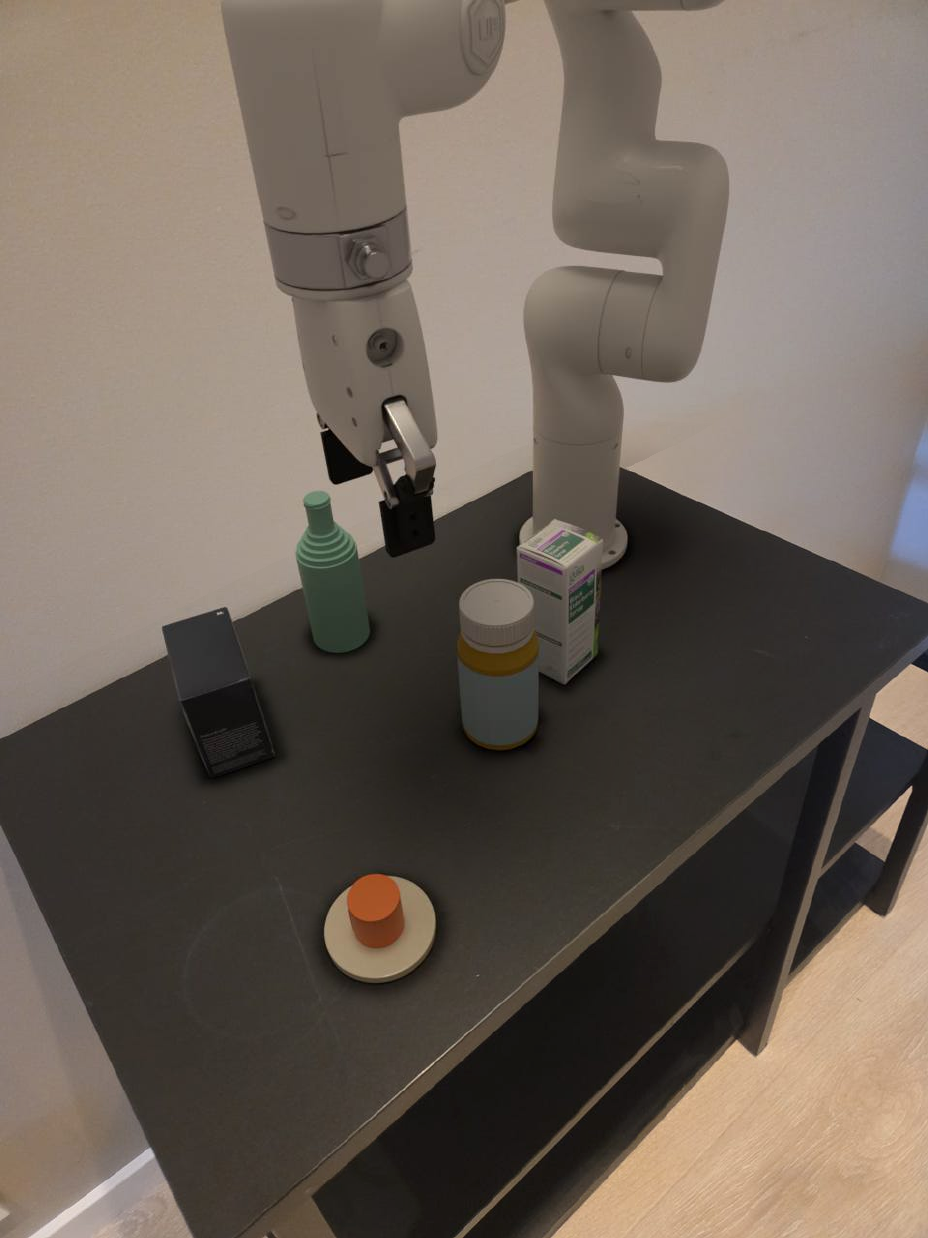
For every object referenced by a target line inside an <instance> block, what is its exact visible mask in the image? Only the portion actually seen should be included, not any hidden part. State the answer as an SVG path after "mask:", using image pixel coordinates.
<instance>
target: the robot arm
mask: <svg viewBox="0 0 928 1238" xmlns="http://www.w3.org/2000/svg"><path fill="white" fill-rule="evenodd" d="M518 1H519V0H220V12H221V17H222V23H223V30H224V35H225V40H226V46H227V51H228V55H229V60H230V65H231V69H232V75H233V79H234V80H233V81H234V84H235V89H236V93H237V100H238V103H239V109H240V113H241V118H242V124H243V128H244V133H245V137H246V138H245V139H246V145H247V148H248V153H249V157H250V158H249V159H250V163H251V167H252V172H253V177H254V182H255V186H256V191H257V194H258V196H257V197H258V200H259V206H260V210H261V215H262V219H263V220H262V223H263V227H264V233H265V237H266V241H267V246H268V251H269V252H268V253H269V256H270V260H271V266H272V272H273V276H274V280H275V281H274V282H275V285H276V287H277V289H278V290H279V291H280V292H282V293H284V294H285V295H287V296H290V297H291V302H292V307H293V308H292V309H293V315H294V322H295V328H296V336H297V341H298V347H299V352H300V354H299V355H300V358H301V359H300V360H301V364H302V370H303V373H304V378H305V383H306V387H307V390H308V394H309V398H310V401H311V403H312V405H313V408H314V410H315V411H316V415H315V416H316V420H317V423H318V426H319V428H320V429H321V430H322V431H320V432H319V433H320V440H321V444H322V449H323V454H324V455H323V456H324V459H325V465H326V471H327V475H328V479H329V481H330V483H331V484H333V486H334V485H335V486H338V485H341V484H344V483H347V482H351V481H353V480H356V479H359V478H362V477H365V476H368V475H371V474H373V473H374V475H375V478H376V481H377V483H378V486H379V489H380V492H381V494H382V497H383V500H380V501H378V507H379V514H380V520H381V521H380V522H381V527H382V534H383V540H384V546H385V548H384V549H385V552H386V553H387V555H388V556H389V557H390V558H393V559H394V558H395V559H396V558H397V557H400V556H404V555H406V554H408V553H412V552H414V551H416V550H421V549H422V548H426V547H428V546H430V545H432V544H434V543H435V541H436V532H435V531H436V530H435V521H434V520H435V519H434V511H433V503H432V496H433V495H434V489H435V482H436V477H435V476H434V475H435V471H436V467H437V460H436V456H435V454H434V452H433V451H432V449H435V448H436V445H437V443H438V438H439V437H438V426H437V417H436V409H435V403H434V396H433V389H432V381H431V374H430V368H429V361H428V355H427V349H426V343H425V338H424V334H423V333H424V332H423V328H422V324H421V319H420V315H419V311H418V307H417V303H416V299H415V295H414V292H413V288H412V285H411V282H409V280H408V279H409V277H411V276H412V273H413V270H414V267H413V258H412V257H413V255H412V245H411V244H412V243H411V236H410V225H409V215H408V204H407V197H406V185H405V176H404V167H403V166H404V165H403V155H402V145H401V136H400V122H401V120H402V119H404V118H407V117H412V116H418V115H425V114H431V113H437V112H438V113H439V112H445V111H448V110H452V109H454V108H457V107H459V106H462V105H463V104H466V103H467V102H468V101H470V100H471V99H472V98H474V97H475V96H476V95H478V93H480V92H481V90H483V88H484V87H485V86H486V85H487V83H488V82H489V81H490V79H491V77H492V76H493V74H494V72H495V70H496V69H497V66H498V63H499V61H500V58H501V55H502V51H503V48H504V42H505V37H506V27H507V26H506V24H507V23H506V22H507V19H506V17H507V16H506V5H509V4H512V3H515V2H518ZM725 1H726V0H543V2H544V5H545V8H546V11H547V13H548V17H549V20H550V22H551V25H552V29H553V31H554V34H555V38H556V41H557V44H558V48H559V52H560V57H561V61H562V71H563V94H562V106H561V114H560V123H559V132H558V142H557V151H556V159H555V160H556V161H555V169H554V178H553V186H552V187H553V189H552V202H551V205H552V206H551V219H552V220H551V221H552V226H553V227H552V228H553V232H554V233H555V235H556V237H557V239H558V240H559V241H561V242H562V244H564V245H567V246H568V247H571V248H575V249H579V250H584V251H590V252H597V253H605V254H613V255H614V254H615V255H622V256H632V257H643V258H651V259H656V260H657V261H659V262H660V264H661V268H662V274H655V273H654V274H653V273H645V272H636V271H626V270H624V269H617V268H616V269H614V268H608V267H607V268H606V267H597V266H588V265H587V266H586V265H563V266H558V267H554V268H551V269H547V270H546V271H544V272H542V273H541V274H540V275H539V276H537V277H536V279H534V280H533V282H532V283H531V285H530V287H529V289H528V290H527V292H526V295H525V298H524V302H523V303H524V304H523V315H522V317H523V318H522V323H523V332H524V338H525V344H526V348H527V354H528V358H529V359H528V360H529V365H530V374H531V383H532V384H531V385H532V516H531V517H530V518H528V519H527V520H526V521H525V522H524V523H523V524H522V526H521V528H520V531H519V535H518V536H519V537H518V539H519V545H521V544H522V543H523V542H525V541H526V540H527V539H529V538H530V537H531V536H532V535H534V534H535V533H537V532H538V531H540V530H541V529H543V528H544V527H546V526H547V525H548V524H550V522H551V521H553V520H554V519H556V520H559V521H562V522H565V523H568V524H571V525H574V526H577V527H579V528H581V529H584V530H586V531H588V532H590V533H592V534H594V535H596V536H598V537H600V538H602V540H603V549H602V570H605V569H608V568H610V567H611V566H613V565H615V564H616V563H617V562H619V560H620V559H622V558H623V556H624V555H625V553H626V551H627V548H628V538H629V537H628V533H627V530H626V528H625V526H624V525H623V524H622V523H621V521H620V520H618V519H617V505H618V496H619V495H618V493H619V482H620V468H621V454H622V443H623V431H624V430H623V429H624V417H625V409H624V400H623V397H622V394H621V390H620V388H619V386H618V383H617V381H616V380H615V377H622V378H628V379H633V380H640V381H646V382H647V381H648V382H653V383H654V382H655V383H667V384H669V383H677V382H679V381H683V380H684V379H685V378H687V377H688V376H689V375H690V374H691V373H692V372H693V370H694V368H695V367H696V365H697V363H698V361H699V357H700V355H701V353H702V350H703V349H702V348H703V345H704V340H705V335H706V331H707V326H708V322H709V321H708V320H709V315H710V309H711V304H712V298H713V295H714V288H715V282H716V276H717V271H718V267H719V266H718V265H719V261H720V256H721V250H722V245H723V239H724V235H725V234H724V233H725V228H726V223H727V217H728V216H727V215H728V209H729V201H730V199H729V198H730V176H729V168H728V164H727V162H726V159H725V158H724V156H723V154H722V153H721V152H720V151H718V149H716V148H714V147H713V146H710V145H709V144H705V143H700V142H692V141H680V140H659V139H657V138H656V137H657V136H656V125H657V119H658V111H659V105H660V96H661V91H662V84H663V76H662V74H663V73H662V69H661V65H660V61H659V58H658V56H657V53H656V51H655V49H654V46H653V45H652V42H651V40H650V38H649V37H648V35H647V33H646V31H645V29H644V28H643V26H642V24H641V23H640V22H639V20H638V18H637V17H636V15H635V14H634V12H638V11H639V12H649V11H650V12H653V11H654V12H657V11H658V12H662V11H663V12H665V11H666V12H667V11H668V12H670V11H671V12H675V11H677V12H680V11H681V12H683V11H684V12H685V11H686V12H695V11H696V12H697V11H704V10H709V9H712V8H716V7H718V6H719V5H721V4H723V3H724V2H725ZM633 11H634V12H633ZM614 376H615V377H614ZM323 430H324V431H323ZM391 441H394V443H395V445H396V447H395V448H392V449H389V450H386V451H385V450H384V451H382V452H380V451H381V448H382V445H383V444H384V443H387V442H391ZM401 460H403V463H404V467H403V470H404V472H405V474H404V475H401V476H399V477H398V479H397V480H396V481H395V482H394V480H393V478H392V476H391V473H390V470H389V468H388V465H389V464H392V463H395V462H399V461H401Z"/></svg>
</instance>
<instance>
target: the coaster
mask: <svg viewBox="0 0 928 1238" xmlns="http://www.w3.org/2000/svg"><path fill="white" fill-rule="evenodd" d="M387 876H388V877H390V878H391V879H392V880H394V881H395V883H396V884H397V886H398V888H399V891H400V897H401V902H402V908H403V914H404V921H405V924H404V929H403V932H402V934H401V935H400V937H399V938H398V939H397V940H396V941H395V942H394V943H392V944H390V945H388V946H386V947H382V948H371V947H367V946H365V945H363V944H362V943H361V942H359V940H358V939H357V938H356V936H355V934H354V931H353V929H352V925H351V921H350V917H349V913H348V906H347V895H348V892H349V890H350V888H351V887H352V885H351V886H349V887H347V888H346V889H345V890H343V891H342V893H341V894H340V895H338V896H337V898H336V899H335V901H334V902H333V903H332V905H331V907H330V908H329V910H328V912H327V915H326V917H325V921H324V927H323V939H324V942H325V947H326V950H327V953H328V956H329V958H330V960H331V962H333V964H334V965H335V967H336V968H337V969H338V970H339V971H340V972H342V973H343V974H344V975H346V976H348V977H349V978H351V979H353V980H356V981H360V982H363V983H369V984H381V983H388V982H392V981H395V980H398V979H401V978H403V977H405V976H406V975H408V974H410V973H411V972H413V971H414V970H415V969H417V968H418V967H419V966H420V965H421V963H423V961H424V960H425V959H426V958H427V957H428V955H429V953H430V951H431V949H432V947H433V946H434V942H435V939H436V934H437V920H436V912H435V908H434V906H433V904H432V901H431V899H430V898H429V896H428V895H427V894H426V893H425V891H424V890H423V889H422V888H421V887H419V886H418V885H417V884H415V883H414V882H412V881H409V880H408V879H405V878H404V877H403V878H402V877H398V876H394V875H393V876H392V875H387Z"/></svg>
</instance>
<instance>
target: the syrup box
mask: <svg viewBox="0 0 928 1238" xmlns="http://www.w3.org/2000/svg"><path fill="white" fill-rule="evenodd" d="M602 549H603V540H602V538H600V537H598V536H596V535H594V534H592V533H590V532H588V531H586V530H584V529H581V528H579V527H577V526H574V525H571V524H568V523H565V522H562V521H559V520H556V519H554V520H553V521H551V522H550V524H548V525H547V526H546V527H544V528H543V529H541V530H540V531H538V532H537V533H535V534H534V535H532V536H531V537H530V538H529V539H527V540H526V541H525V542H523V543H522V544H521V545H520V544H519V545H518V546H516V565H517V566H516V569H517V572H516V573H517V583H519V584H521V585H523V586H524V587H526V588H527V589H528V590H529V591H530V593H531V594H532V597H533V600H534V623H533V629H534V631H535V633H536V635H537V638H538V643H539V673H541V674H543V675H544V676H547V677H549V678H550V679H551V680H554V681H555V682H557V683H559V684H562V685H566V684H568V683H569V681H570V680H571V679H573V677H575V675H577V674H578V673H579V672H580V671H582V670H583V668H585V667H586V666H587V665H588V664H589V663H590V662H591V661H593V659H594V658H595V657H596V656H597V655H598V654H599V634H600V633H599V631H600V610H601V591H602V570H603V569H602Z"/></svg>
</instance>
